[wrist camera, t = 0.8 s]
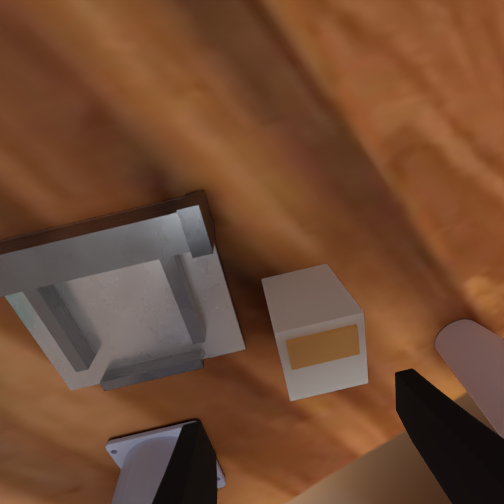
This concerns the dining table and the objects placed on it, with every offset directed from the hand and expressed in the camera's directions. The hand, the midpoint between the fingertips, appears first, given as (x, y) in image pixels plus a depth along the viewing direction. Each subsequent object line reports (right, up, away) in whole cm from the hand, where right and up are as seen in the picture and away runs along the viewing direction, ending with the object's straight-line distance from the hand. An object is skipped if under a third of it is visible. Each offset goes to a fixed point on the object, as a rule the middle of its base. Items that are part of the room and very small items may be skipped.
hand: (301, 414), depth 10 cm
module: (+2, +2, +10) cm, 10 cm away
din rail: (-10, +3, +8) cm, 13 cm away
